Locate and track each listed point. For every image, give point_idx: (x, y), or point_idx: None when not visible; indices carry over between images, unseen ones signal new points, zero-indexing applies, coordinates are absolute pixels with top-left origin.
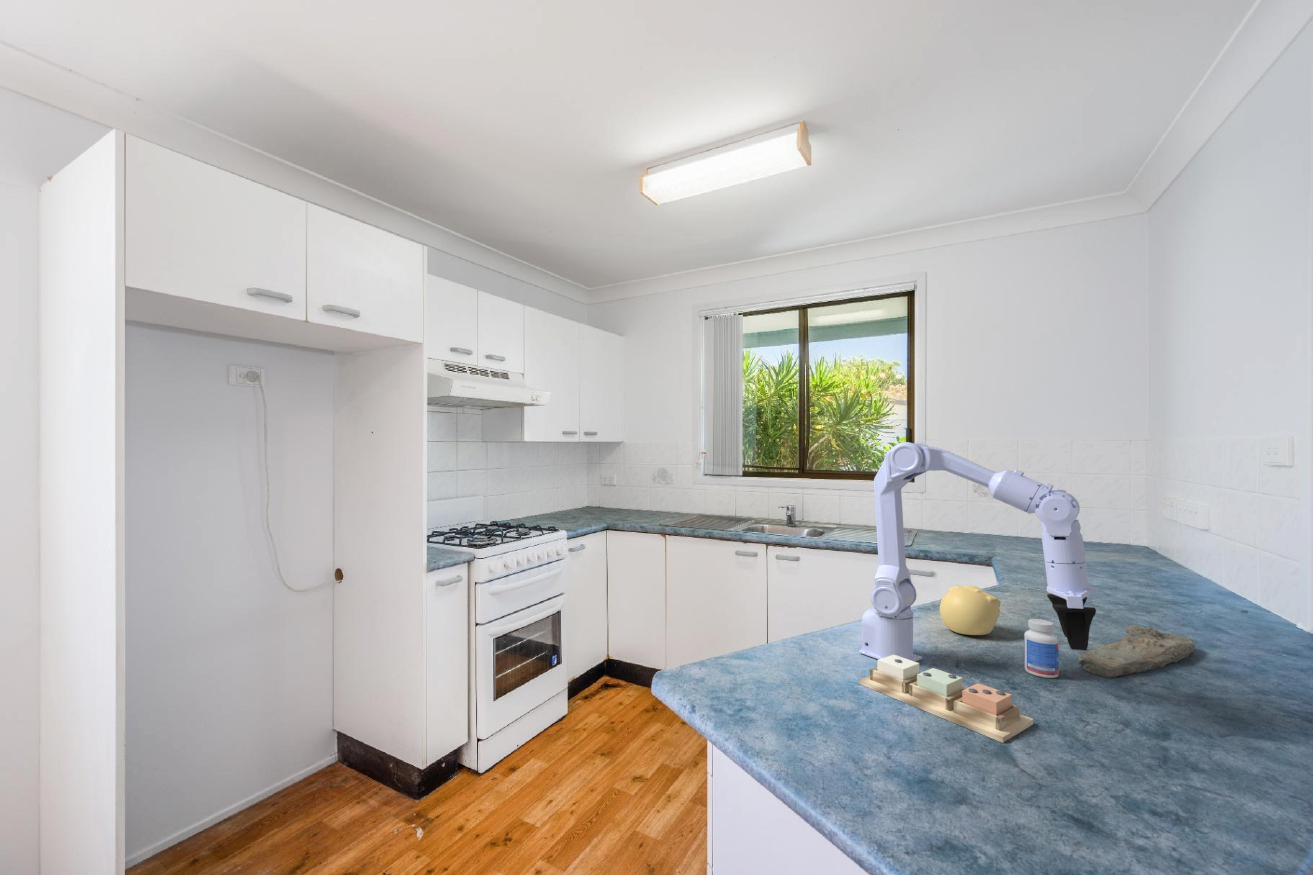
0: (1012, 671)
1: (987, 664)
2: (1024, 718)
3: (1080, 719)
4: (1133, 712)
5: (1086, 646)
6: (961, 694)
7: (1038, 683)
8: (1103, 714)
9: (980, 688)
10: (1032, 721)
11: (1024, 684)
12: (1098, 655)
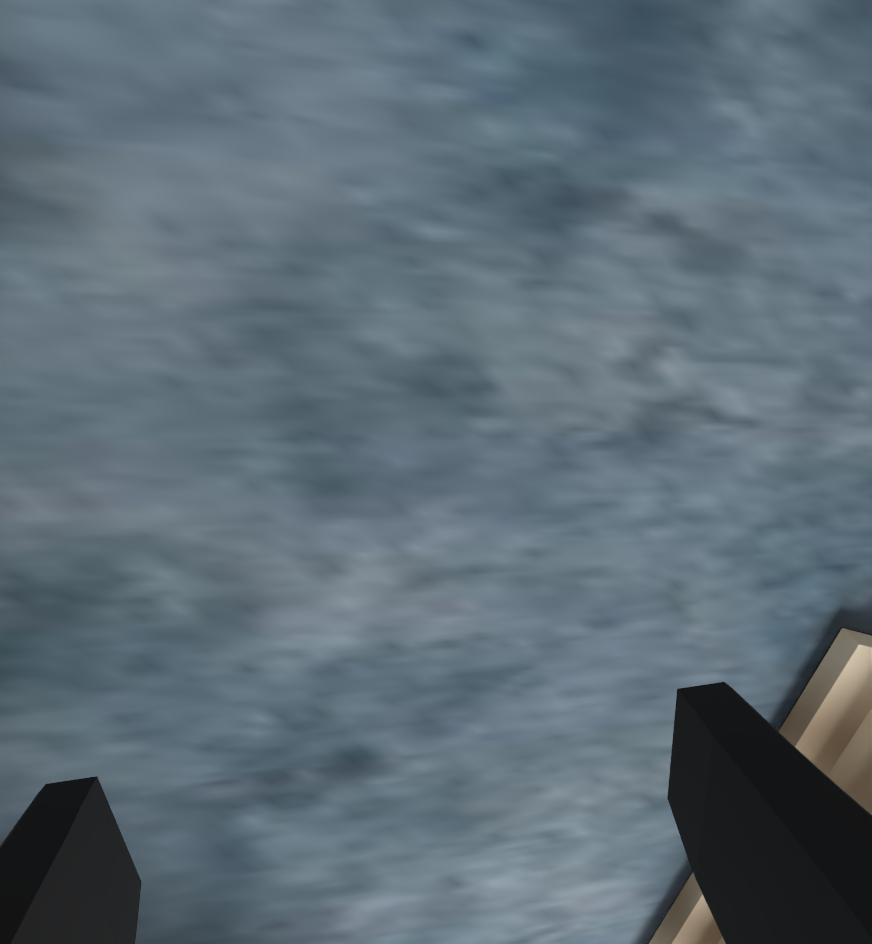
0: None
1: None
2: (869, 675)
3: (640, 441)
4: (273, 128)
5: (759, 717)
6: None
7: (144, 673)
8: (464, 322)
9: None
10: (863, 640)
11: (236, 730)
12: None
